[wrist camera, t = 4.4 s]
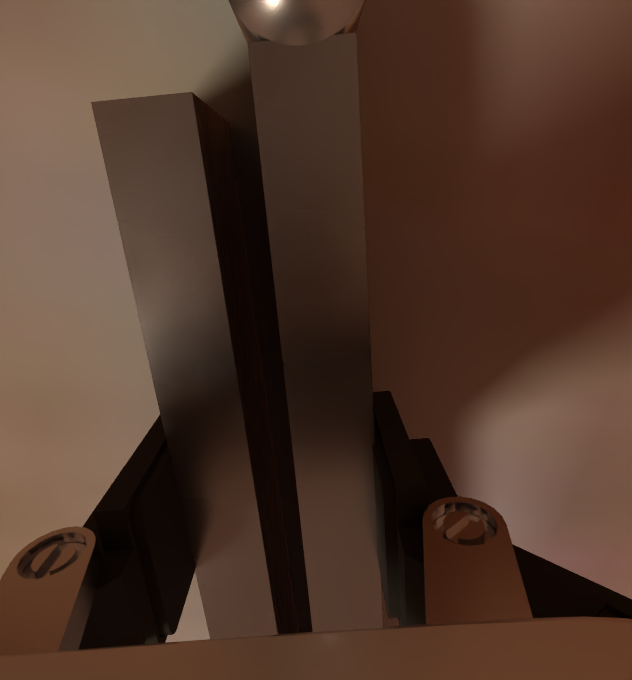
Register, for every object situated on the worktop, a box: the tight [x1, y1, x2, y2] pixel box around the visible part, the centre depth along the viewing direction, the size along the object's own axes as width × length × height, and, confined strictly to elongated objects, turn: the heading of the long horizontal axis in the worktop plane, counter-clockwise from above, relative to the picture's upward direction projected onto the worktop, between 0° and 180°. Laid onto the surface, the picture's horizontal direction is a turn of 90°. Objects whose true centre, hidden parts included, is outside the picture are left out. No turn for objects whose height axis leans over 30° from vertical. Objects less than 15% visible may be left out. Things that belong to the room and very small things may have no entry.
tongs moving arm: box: [229, 0, 383, 632], centre depth 12 cm, size 27×2×4 cm, turn 5°
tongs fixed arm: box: [91, 92, 299, 639], centre depth 12 cm, size 30×4×4 cm, turn 5°
